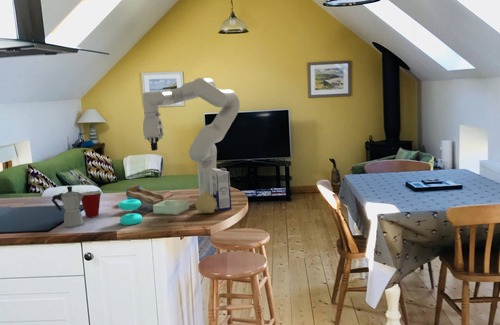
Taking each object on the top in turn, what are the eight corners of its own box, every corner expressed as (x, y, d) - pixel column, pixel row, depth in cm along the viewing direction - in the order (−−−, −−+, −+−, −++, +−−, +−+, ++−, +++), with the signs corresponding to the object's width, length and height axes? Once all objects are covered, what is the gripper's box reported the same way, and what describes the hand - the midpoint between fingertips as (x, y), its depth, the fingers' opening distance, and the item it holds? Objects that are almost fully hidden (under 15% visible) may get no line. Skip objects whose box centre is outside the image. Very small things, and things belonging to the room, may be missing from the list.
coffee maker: (90, 221, 235) (86, 183, 232) (85, 226, 226) (80, 187, 223) (58, 223, 234) (53, 185, 232) (51, 228, 226) (46, 189, 223)
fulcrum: (159, 207, 255) (158, 196, 254) (145, 213, 244) (144, 202, 243) (146, 206, 258) (145, 196, 257) (132, 212, 247) (131, 201, 247)
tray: (189, 209, 247) (188, 201, 247) (176, 214, 237) (176, 206, 237) (166, 207, 253) (165, 200, 252) (153, 213, 243) (152, 205, 242)
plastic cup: (107, 212, 250) (105, 189, 248) (98, 218, 239) (96, 193, 237) (86, 213, 251) (84, 189, 249) (77, 219, 241) (74, 194, 239)
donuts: (142, 201, 224) (120, 204, 220) (144, 223, 226) (122, 226, 222) (138, 197, 233) (116, 200, 230) (140, 218, 235) (118, 221, 231)
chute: (173, 196, 260) (174, 188, 259) (152, 204, 243) (153, 196, 242) (148, 187, 266) (149, 180, 265) (126, 195, 249) (126, 188, 248)
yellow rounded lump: (220, 210, 242) (218, 188, 240) (215, 216, 230) (213, 193, 228) (200, 210, 243) (198, 189, 242) (194, 217, 232) (192, 194, 230)
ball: (182, 210, 245) (184, 204, 243) (177, 213, 241) (180, 206, 240) (175, 206, 246) (178, 199, 245) (171, 208, 242) (173, 201, 241)
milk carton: (214, 207, 247) (211, 167, 243) (227, 206, 249) (224, 166, 246) (218, 211, 240) (215, 169, 237) (231, 209, 242) (229, 168, 239)
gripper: (167, 114, 265) (170, 149, 268) (144, 115, 271) (147, 149, 274) (159, 115, 258) (162, 151, 261) (135, 116, 264) (138, 151, 267)
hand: (154, 150), depth 267 cm, fingers closed
